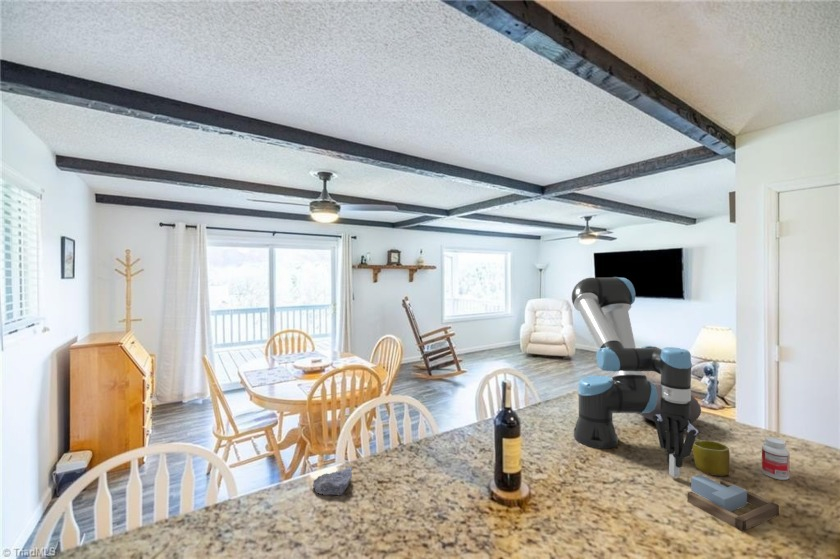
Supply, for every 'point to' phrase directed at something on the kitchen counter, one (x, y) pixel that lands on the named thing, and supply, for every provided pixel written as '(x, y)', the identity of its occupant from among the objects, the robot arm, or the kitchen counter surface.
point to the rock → (333, 482)
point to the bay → (741, 522)
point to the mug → (711, 457)
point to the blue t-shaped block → (719, 493)
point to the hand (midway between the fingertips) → (674, 475)
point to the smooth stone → (694, 410)
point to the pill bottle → (775, 458)
